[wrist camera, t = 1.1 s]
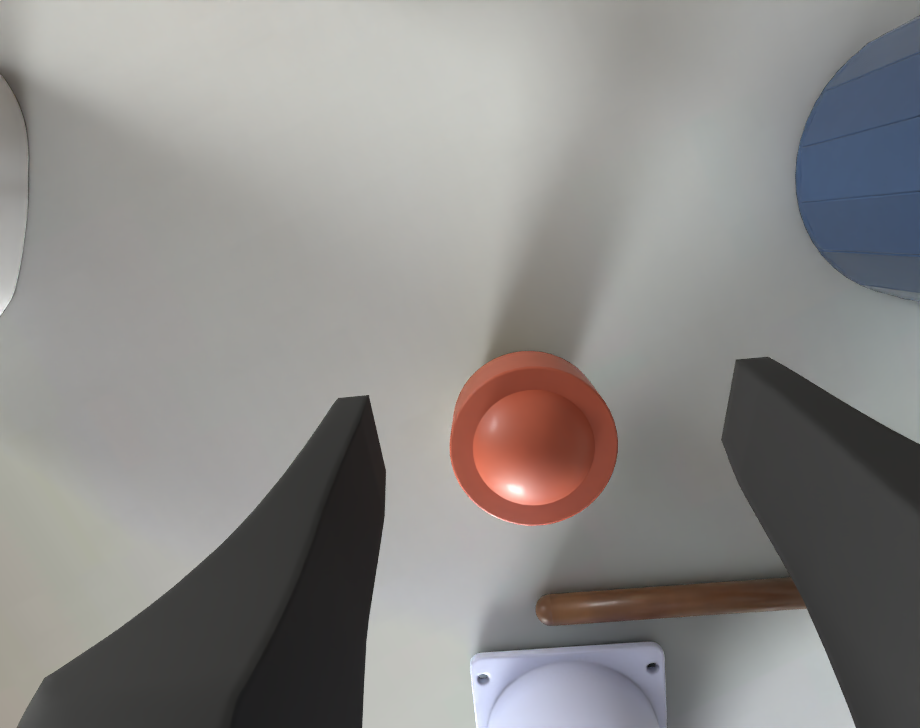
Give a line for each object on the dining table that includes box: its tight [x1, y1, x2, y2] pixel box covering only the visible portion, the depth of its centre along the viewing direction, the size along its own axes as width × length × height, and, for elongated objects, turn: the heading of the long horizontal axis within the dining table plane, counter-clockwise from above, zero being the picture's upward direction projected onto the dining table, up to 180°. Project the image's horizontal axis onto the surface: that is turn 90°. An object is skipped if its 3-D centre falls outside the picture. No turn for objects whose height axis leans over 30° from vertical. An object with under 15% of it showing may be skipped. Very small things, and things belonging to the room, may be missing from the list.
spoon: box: [536, 577, 807, 626], centre depth 25 cm, size 18×5×1 cm, turn 96°
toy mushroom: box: [450, 351, 618, 526], centre depth 20 cm, size 5×5×7 cm
